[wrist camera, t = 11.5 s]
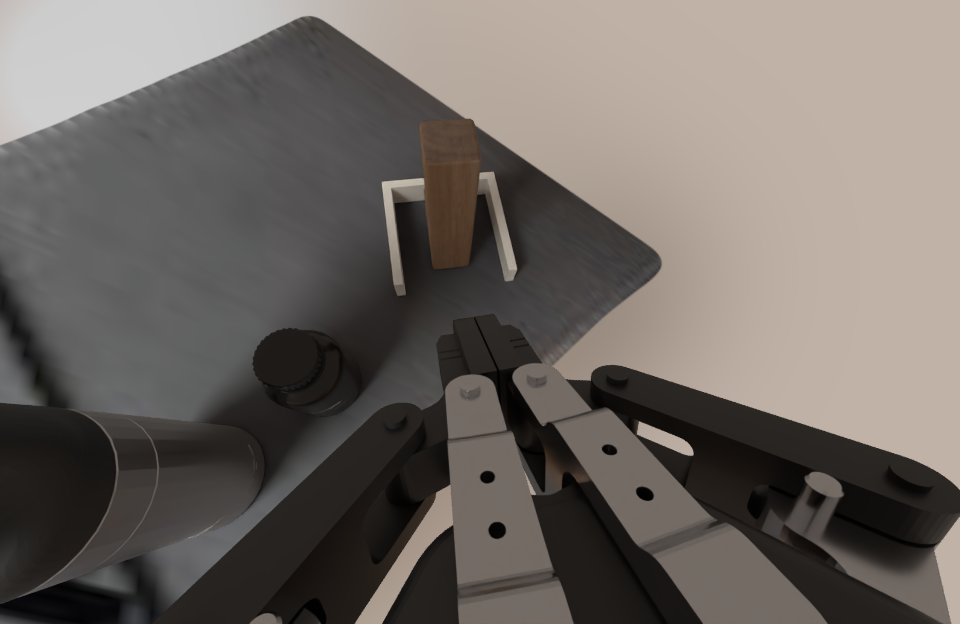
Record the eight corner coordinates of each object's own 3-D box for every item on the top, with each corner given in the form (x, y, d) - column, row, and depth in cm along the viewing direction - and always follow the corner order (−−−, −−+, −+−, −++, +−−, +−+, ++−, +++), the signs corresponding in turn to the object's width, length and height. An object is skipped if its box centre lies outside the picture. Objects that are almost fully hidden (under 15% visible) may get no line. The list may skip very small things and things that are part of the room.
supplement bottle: (333, 431, 37) (284, 423, 26) (282, 392, 38) (214, 368, 27) (376, 375, 40) (349, 347, 29) (328, 340, 41) (282, 299, 29)
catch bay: (397, 296, 43) (393, 285, 40) (385, 197, 48) (381, 181, 45) (512, 280, 45) (517, 269, 42) (490, 187, 50) (493, 171, 47)
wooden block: (425, 209, 48) (413, 78, 31) (459, 206, 48) (466, 76, 31) (432, 271, 45) (424, 163, 28) (469, 267, 45) (482, 160, 28)
